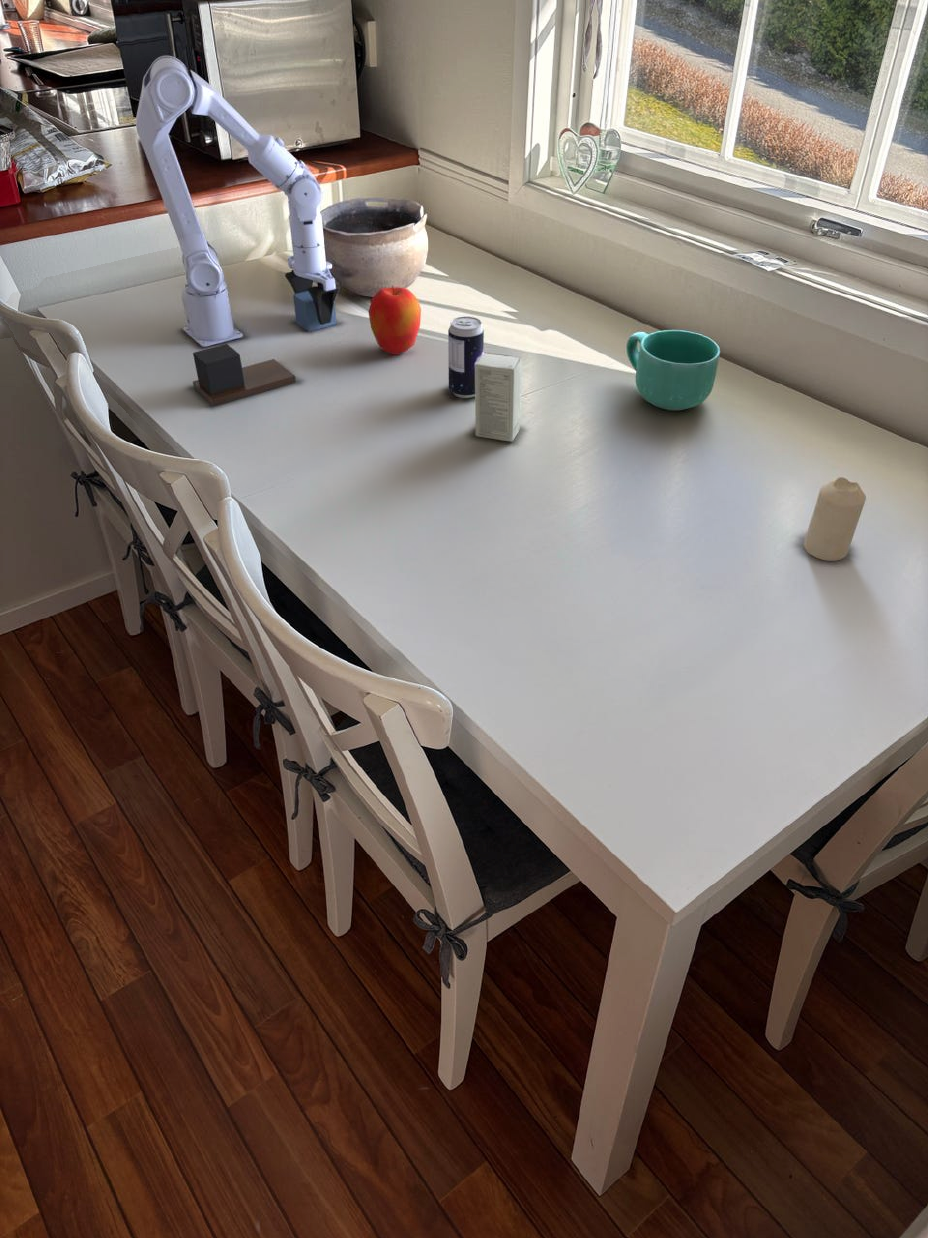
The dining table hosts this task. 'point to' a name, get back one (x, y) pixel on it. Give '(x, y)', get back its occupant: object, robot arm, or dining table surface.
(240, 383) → the dark grey cube
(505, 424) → the cosmetic box
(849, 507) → the candle
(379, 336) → the apple
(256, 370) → the board
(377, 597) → the dining table surface
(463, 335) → the beverage can
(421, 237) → the ceramic bowl
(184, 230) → the robot arm
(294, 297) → the slate block
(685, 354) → the mug
